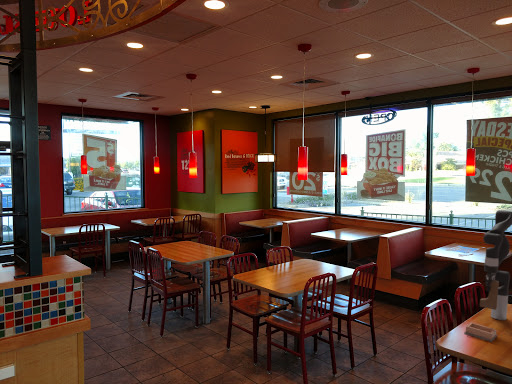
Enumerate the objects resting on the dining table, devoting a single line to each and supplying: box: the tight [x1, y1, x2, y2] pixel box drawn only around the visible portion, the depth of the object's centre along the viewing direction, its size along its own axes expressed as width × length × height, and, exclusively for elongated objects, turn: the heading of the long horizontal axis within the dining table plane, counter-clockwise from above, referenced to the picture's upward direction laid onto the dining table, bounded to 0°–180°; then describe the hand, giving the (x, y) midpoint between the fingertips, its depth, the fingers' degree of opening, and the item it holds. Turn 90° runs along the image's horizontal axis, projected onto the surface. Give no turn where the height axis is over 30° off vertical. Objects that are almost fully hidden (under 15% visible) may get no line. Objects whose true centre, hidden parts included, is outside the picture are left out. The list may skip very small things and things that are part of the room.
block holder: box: [464, 322, 498, 343], centre depth 239 cm, size 12×15×4 cm
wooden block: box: [479, 280, 500, 310], centre depth 247 cm, size 9×4×18 cm, turn 51°
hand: (489, 290), depth 247 cm, fingers closed on wooden block, 4 cm apart
